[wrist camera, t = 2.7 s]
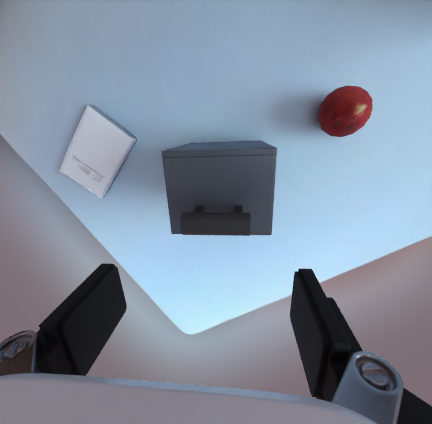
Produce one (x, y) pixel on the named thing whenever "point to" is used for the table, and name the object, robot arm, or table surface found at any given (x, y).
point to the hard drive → (96, 151)
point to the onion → (345, 111)
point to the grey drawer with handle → (220, 188)
